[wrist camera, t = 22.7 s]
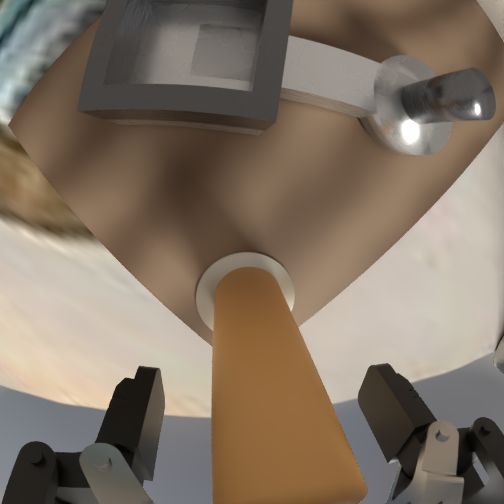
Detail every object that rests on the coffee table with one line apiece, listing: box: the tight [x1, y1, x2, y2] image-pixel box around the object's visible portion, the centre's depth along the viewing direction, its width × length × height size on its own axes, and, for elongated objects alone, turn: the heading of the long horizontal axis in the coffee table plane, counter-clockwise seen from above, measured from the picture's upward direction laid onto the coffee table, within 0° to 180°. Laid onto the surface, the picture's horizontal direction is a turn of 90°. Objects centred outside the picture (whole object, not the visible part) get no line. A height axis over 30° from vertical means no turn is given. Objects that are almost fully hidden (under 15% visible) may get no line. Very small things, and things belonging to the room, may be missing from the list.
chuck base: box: [8, 0, 504, 347], centre depth 14 cm, size 24×39×2 cm, turn 131°
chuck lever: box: [77, 0, 496, 155], centre depth 10 cm, size 19×8×7 cm, turn 82°
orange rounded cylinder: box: [212, 267, 368, 504], centre depth 11 cm, size 4×4×13 cm
